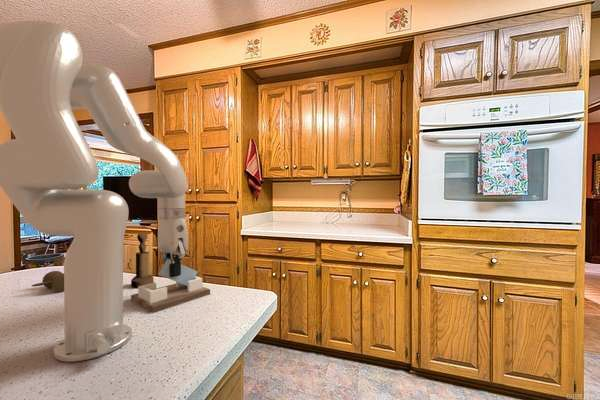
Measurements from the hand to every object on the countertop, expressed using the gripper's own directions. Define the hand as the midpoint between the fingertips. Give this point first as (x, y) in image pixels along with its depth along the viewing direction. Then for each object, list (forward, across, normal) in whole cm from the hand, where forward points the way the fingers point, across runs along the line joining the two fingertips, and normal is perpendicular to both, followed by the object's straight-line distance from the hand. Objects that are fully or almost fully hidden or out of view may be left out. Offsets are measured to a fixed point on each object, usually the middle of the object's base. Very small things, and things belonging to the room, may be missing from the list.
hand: (172, 274), depth 81 cm
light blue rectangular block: (+2, 0, -1) cm, 2 cm away
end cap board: (+7, 0, 0) cm, 7 cm away
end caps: (+5, 0, 0) cm, 5 cm away
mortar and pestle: (+7, +19, +1) cm, 20 cm away
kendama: (+7, +36, +16) cm, 40 cm away
